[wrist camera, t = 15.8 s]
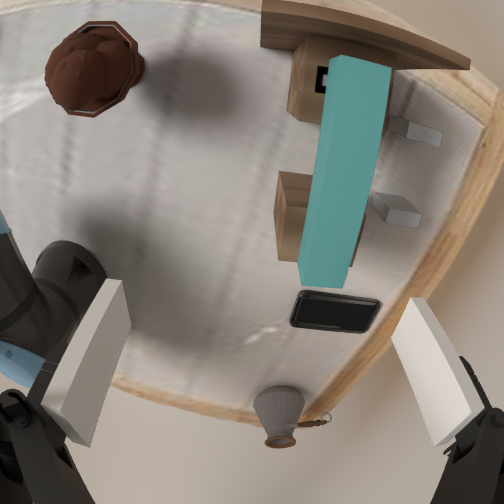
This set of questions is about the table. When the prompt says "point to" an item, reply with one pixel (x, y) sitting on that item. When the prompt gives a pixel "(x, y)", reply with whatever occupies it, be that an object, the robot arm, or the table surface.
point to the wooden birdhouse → (342, 49)
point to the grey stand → (396, 206)
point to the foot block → (294, 214)
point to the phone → (333, 312)
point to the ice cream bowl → (93, 68)
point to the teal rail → (342, 167)
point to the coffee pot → (281, 415)
